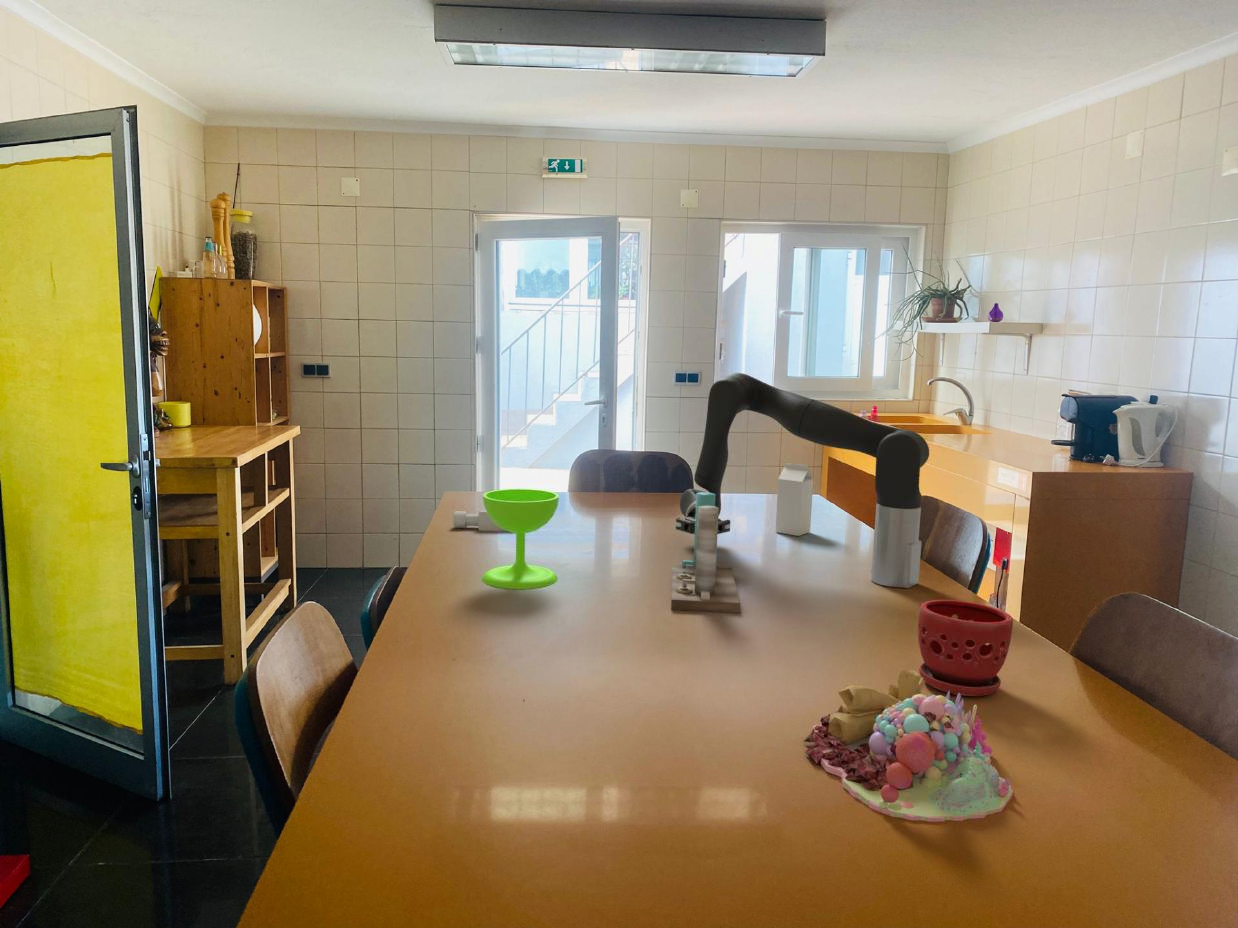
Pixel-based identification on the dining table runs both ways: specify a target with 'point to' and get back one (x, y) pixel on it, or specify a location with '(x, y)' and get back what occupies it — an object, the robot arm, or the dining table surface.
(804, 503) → the milk carton
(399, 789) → the dining table surface
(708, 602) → the gauge board
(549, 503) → the wineglass
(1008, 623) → the plant pot
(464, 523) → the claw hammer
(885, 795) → the pastel sphere sculpture
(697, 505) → the teal lever handle
